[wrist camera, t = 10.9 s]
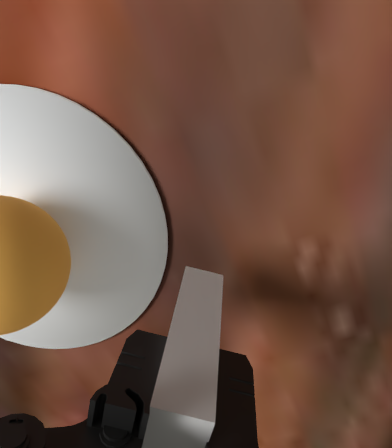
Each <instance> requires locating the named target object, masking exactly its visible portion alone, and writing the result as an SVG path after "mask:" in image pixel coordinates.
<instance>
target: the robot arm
mask: <svg viewBox="0 0 392 448" xmlns="http://www.w3.org/2000/svg"><path fill="white" fill-rule="evenodd" d="M222 291H223V275H220V274H216V273H212V272H208V271H204V270H200V269H196V268H192V267H188V266H186V268H185V272H184V275H183V279H182V283H181V287H180V291H179V295H178V299H177V303H176V306H175V310H174V314H173V318H172V322H171V326H170V330H169V334H168V337H165V336H161V335H157V334H153V333H149V332H145V331H141V330H136V331H135V332H134V333H133V334H132V335H131V336H129V337H128V338H127V339H126V342H125V344H124V347H123V349H122V352H121V354H120V356H119V359H118V361H117V364H116V366H115V368H114V371H113V373H112V376H111V378H110V381H109V383H108V385H105V386H103V387H102V388H100V389H99V390H97V391H96V392H95V394H94V395H93V397H92V398H91V399H90V405H89V412H88V418H87V419H86V420H84V421H83V422H81V423H78V424H76V425H72V426H66V427H55V428H44V425H43V423H42V422H41V421H39V420H38V419H37V418H36V417H35V416H31V415H28V414H24V413H23V414H10V415H8V416H5V417H2V418H0V448H259V447H258V441H257V425H256V410H255V398H254V395H255V394H254V386H253V384H254V379H253V368H252V366H251V365H250V363H249V361H248V359H247V357H246V355H242V354H238V353H234V352H230V351H226V350H222V349H219V346H220V327H221V309H222Z"/></svg>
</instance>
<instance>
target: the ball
mask: <svg viewBox="0 0 392 448" xmlns="http://www.w3.org/2000/svg"><path fill="white" fill-rule="evenodd" d="M70 270H71V255H70V248H69V245H68V242H67V239H66V237H65V235H64V233H63V231H62V229H61V228H60V226H59V225H58V223H57V222H56V221H55V220H54V219H53V218H52V217H51V216H50V215H49V214H48V213H47V212H45V211H44V210H43V209H41V208H40V207H38V206H36V205H34V204H33V203H30V202H28V201H25V200H22V199H19V198H15V197H11V196H3V195H0V335H4V334H9V333H13V332H16V331H19V330H21V329H23V328H26V327H28V326H30V325H32V324H33V323H35V322H37V321H38V320H40V319H41V318H42V317H43V316H45V315H46V314H47V313H48V312H49V311H50V310H51V309H52V308H53V307H54V306H55V304H56V303H57V302H58V300H59V299H60V297H61V296H62V294H63V292H64V290H65V288H66V285H67V283H68V279H69V275H70Z"/></svg>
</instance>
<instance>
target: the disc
mask: <svg viewBox="0 0 392 448" xmlns="http://www.w3.org/2000/svg"><path fill="white" fill-rule="evenodd" d="M0 195H3V196H11V197H15V198H19V199H22V200H25V201H28V202H30V203H33V204H34V205H36V206H38V207H40V208H41V209H43V210H44V211H45V212H47V213H48V214H49V215H50V216H51V217H52V218H53V219H54V220H55V221H56V222H57V223H58V225H59V226H60V228H61V229H62V231H63V233H64V235H65V237H66V239H67V242H68V245H69V248H70V255H71V270H70V275H69V279H68V283H67V285H66V288H65V290H64V292H63V294H62V296H61V297H60V299H59V300H58V302H57V303H56V304H55V306H54V307H53V308H52V309H51V310H50V311H49V312H48V313H47V314H46V315H45V316H43V317H42V318H41V319H40V320H38V321H37V322H35V323H33V324H32V325H30V326H28V327H26V328H23V329H21V330H19V331H16V332H13V333H9V334H4V335H0V337H1V338H3V339H5V340H8V341H12V342H15V343H18V344H22V345H27V346H32V347H37V348H49V349H67V348H75V347H82V346H87V345H90V344H94V343H98V342H100V341H103V340H105V339H107V338H110V337H112V336H114V335H115V334H117V333H119V332H120V331H122V330H124V329H125V328H126V327H128V326H129V325H130V324H131V323H133V322H134V321H135V320H136V319H137V318H138V317H139V316H140V315H141V314H142V313H143V312H144V310H145V309H146V308H147V306H148V305H149V303H150V302H151V300H152V299H153V298H154V296H155V293H156V291H157V289H158V287H159V285H160V283H161V280H162V276H163V273H164V270H165V266H166V260H167V253H168V230H167V223H166V216H165V212H164V208H163V205H162V201H161V198H160V195H159V193H158V190H157V188H156V186H155V183H154V181H153V179H152V177H151V175H150V174H149V172H148V170H147V169H146V167H145V165H144V163H143V162H142V160H141V159H140V158H139V156H138V155H137V154H136V152H135V151H134V150H133V148H132V147H131V146H130V145H129V144H128V142H127V141H126V140H125V139H124V138H123V137H122V136H121V135H120V134H119V133H118V132H117V131H116V130H115V129H114V128H112V127H111V126H110V125H109V124H108V123H106V122H105V121H104V120H103V119H101V118H100V117H99V116H98V115H96V114H94V113H93V112H91V111H90V110H88V109H86V108H85V107H83V106H82V105H80V104H78V103H76V102H74V101H72V100H70V99H67V98H65V97H63V96H61V95H59V94H56V93H52V92H49V91H46V90H43V89H40V88H35V87H29V86H23V85H15V84H0Z"/></svg>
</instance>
